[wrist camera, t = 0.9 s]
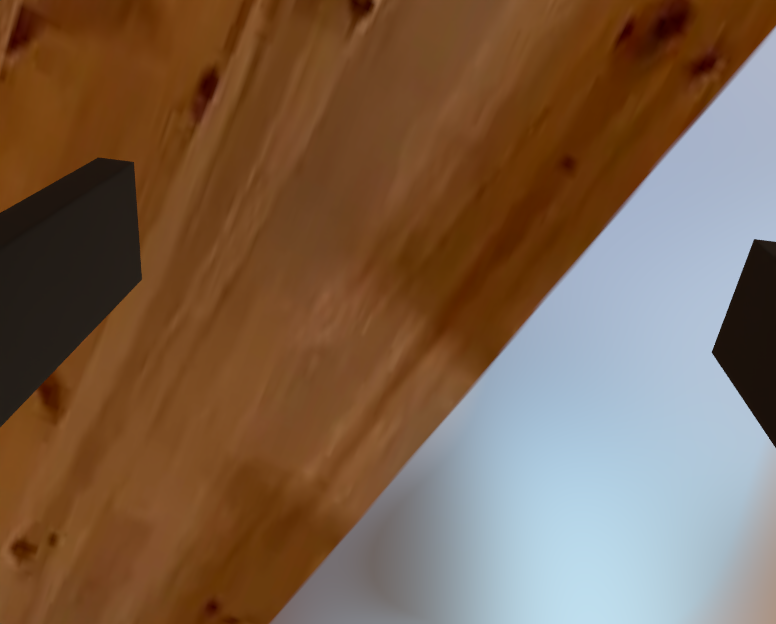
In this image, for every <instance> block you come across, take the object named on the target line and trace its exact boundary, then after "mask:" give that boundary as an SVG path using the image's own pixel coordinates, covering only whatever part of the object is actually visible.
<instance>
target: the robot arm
mask: <svg viewBox="0 0 776 624" xmlns="http://www.w3.org/2000/svg"><path fill="white" fill-rule="evenodd" d="M141 280H142V274H141V260H140V245H139V231H138V216H137V202H136V187H135V173H134V162H129V161H121V160H113V159H105V158H97V159H95V160H93V161H91V162H90V163H88V164H86V165H84V166H83V167H81V168H79V169H77V170H76V171H74V172H72V173H70V174H68V175H67V176H65V177H63V178H61V179H60V180H58V181H56V182H54V183H53V184H51V185H49V186H47V187H45V188H44V189H42V190H40V191H38V192H37V193H35V194H33V195H31V196H30V197H28V198H26V199H24V200H23V201H21V202H19V203H17V204H15V205H14V206H12V207H10V208H8V209H7V210H5V211H3V212H1V213H0V427H1V426H2V425H3V424H4V423H5V422H6V421H7V420H8V419H9V418H10V416H11V415H12V414H13V413H14V412H15V411H16V410H17V409H18V408H19V407H20V406H21V405H22V404H23V403H24V402H25V401H26V400H27V399H28V398H29V397H30V396H31V395H32V394H33V392H34V391H35V390H36V389H37V388H38V387H39V386H40V385H41V384H42V383H43V382H44V381H45V380H46V379H47V378H48V377H49V376H50V375H51V374H52V373H53V372H54V371H55V370H56V368H57V367H58V366H59V365H60V364H61V363H62V362H63V361H64V360H65V359H66V358H67V357H68V356H69V355H70V354H71V353H72V352H73V351H74V350H75V349H76V348H77V347H78V346H79V344H80V343H81V342H82V341H83V340H84V339H85V338H86V337H87V336H88V335H89V334H90V333H91V332H92V331H93V330H94V329H95V328H96V327H97V326H98V325H99V324H100V323H101V322H102V320H103V319H104V318H105V317H106V316H107V315H108V314H109V313H110V312H111V311H112V310H113V309H114V308H115V307H116V306H117V305H118V304H119V303H120V302H121V301H122V300H123V299H124V297H125V296H126V295H127V294H128V293H129V292H130V291H131V290H132V289H133V288H134V287H135V286H136V285H137V284H138V283H139V282H140V281H141ZM712 353H713V355H714V356H715V358H716V360H717V361H718V363H719V364H720V366H721V367H722V368H723V370H724V371H725V373H726V374H727V376H728V377H729V379H730V380H731V382H732V383H733V385H734V386H735V388H736V389H737V391H738V392H739V394H740V395H741V397H742V398H743V400H744V401H745V403H746V404H747V406H748V407H749V409H750V410H751V411H752V413H753V415H754V416H755V417H756V419H757V421H758V422H759V424H760V425H761V426H762V428H763V430H764V431H765V433H766V434H767V436H768V437H769V439H770V440H771V442H772V443H773V445H774V446H775V447H776V242H771V241H764V240H756V239H754V241H753V244H752V246H751V249H750V252H749V255H748V257H747V260H746V263H745V265H744V268H743V271H742V273H741V276H740V279H739V281H738V284H737V286H736V289H735V292H734V294H733V297H732V300H731V302H730V305H729V308H728V311H727V313H726V316H725V319H724V321H723V324H722V326H721V329H720V332H719V334H718V337H717V340H716V342H715V345H714V348H713V350H712Z"/></svg>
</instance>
